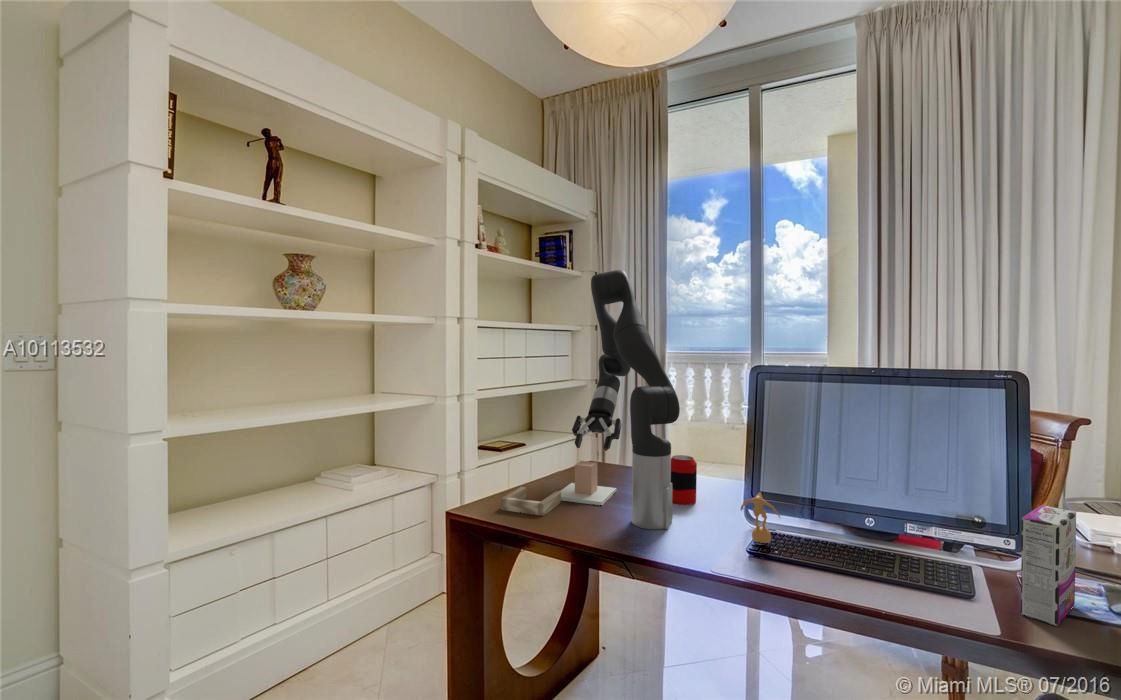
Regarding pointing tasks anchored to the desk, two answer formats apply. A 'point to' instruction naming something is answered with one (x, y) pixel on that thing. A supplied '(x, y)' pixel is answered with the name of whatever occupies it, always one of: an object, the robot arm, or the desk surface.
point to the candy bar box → (1048, 564)
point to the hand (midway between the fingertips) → (591, 448)
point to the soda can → (683, 479)
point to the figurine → (759, 532)
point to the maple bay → (529, 502)
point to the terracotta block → (586, 477)
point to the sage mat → (595, 498)
